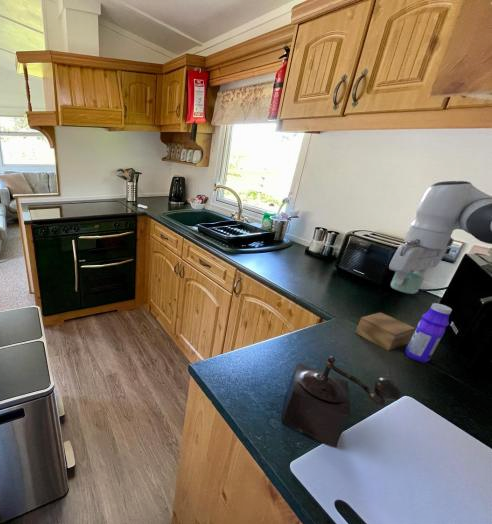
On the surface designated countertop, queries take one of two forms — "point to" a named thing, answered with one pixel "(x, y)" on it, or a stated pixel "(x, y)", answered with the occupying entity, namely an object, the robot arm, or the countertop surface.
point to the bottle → (428, 333)
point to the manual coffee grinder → (326, 401)
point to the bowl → (408, 283)
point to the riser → (384, 330)
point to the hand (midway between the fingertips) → (406, 282)
